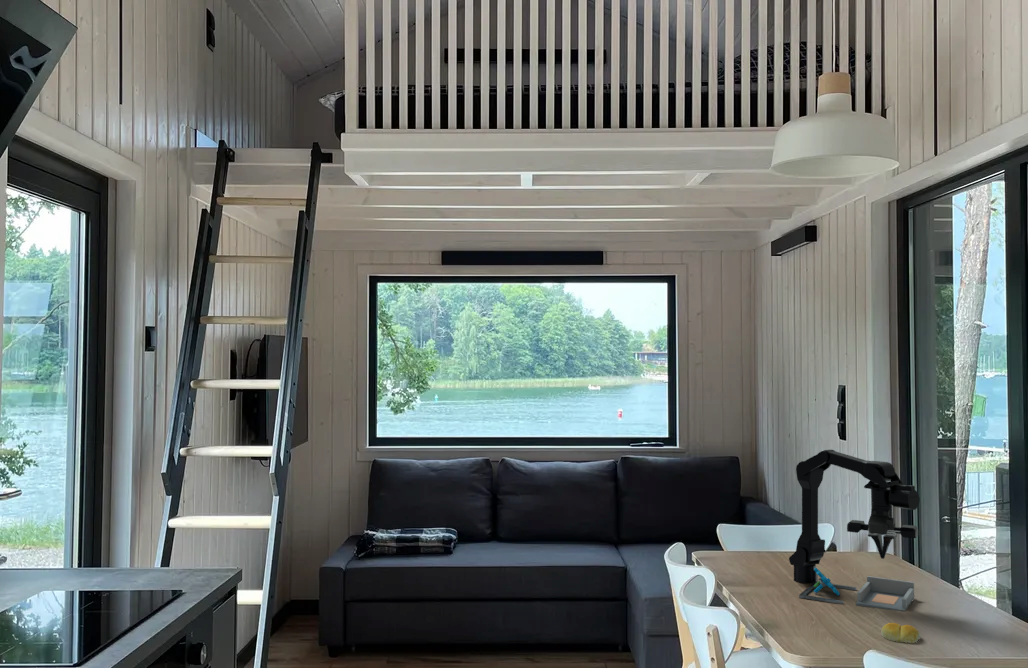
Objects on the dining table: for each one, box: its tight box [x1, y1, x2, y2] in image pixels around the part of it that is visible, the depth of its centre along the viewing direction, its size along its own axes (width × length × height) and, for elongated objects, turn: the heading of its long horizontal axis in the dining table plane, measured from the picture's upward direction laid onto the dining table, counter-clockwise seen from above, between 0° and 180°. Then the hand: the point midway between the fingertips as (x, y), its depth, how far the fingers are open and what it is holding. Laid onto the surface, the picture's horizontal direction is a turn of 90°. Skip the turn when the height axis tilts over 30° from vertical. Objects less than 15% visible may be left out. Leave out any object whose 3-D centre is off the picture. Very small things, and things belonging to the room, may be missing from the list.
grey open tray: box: [855, 575, 915, 612], centre depth 247 cm, size 13×18×5 cm
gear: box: [813, 567, 841, 596], centre depth 256 cm, size 11×6×10 cm
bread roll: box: [881, 622, 922, 644], centre depth 212 cm, size 8×9×4 cm
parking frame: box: [798, 581, 857, 605], centre depth 255 cm, size 12×19×1 cm, turn 147°
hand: (882, 558), depth 247 cm, fingers closed
